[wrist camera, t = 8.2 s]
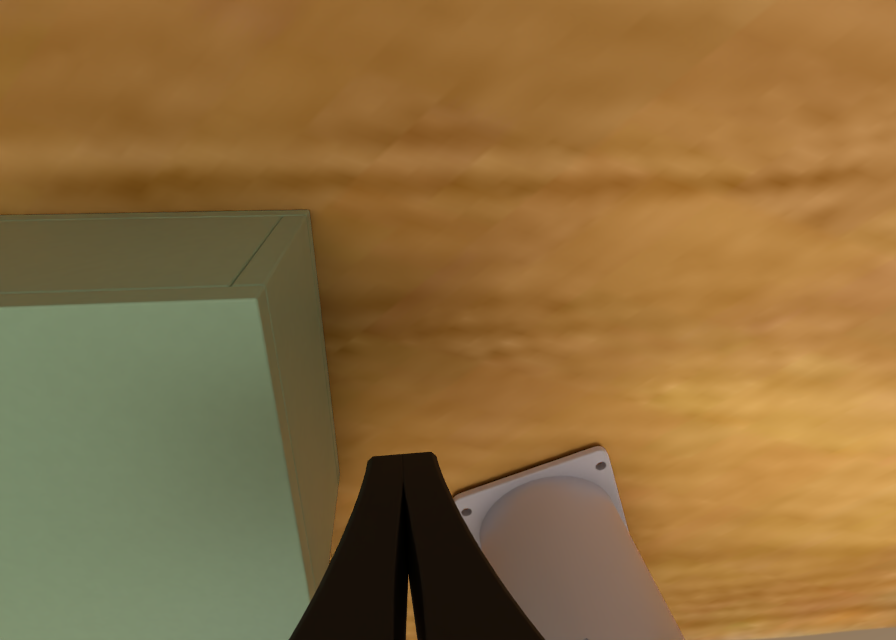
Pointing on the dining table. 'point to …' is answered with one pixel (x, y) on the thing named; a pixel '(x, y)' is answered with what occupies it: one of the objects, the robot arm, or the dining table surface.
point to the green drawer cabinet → (162, 426)
